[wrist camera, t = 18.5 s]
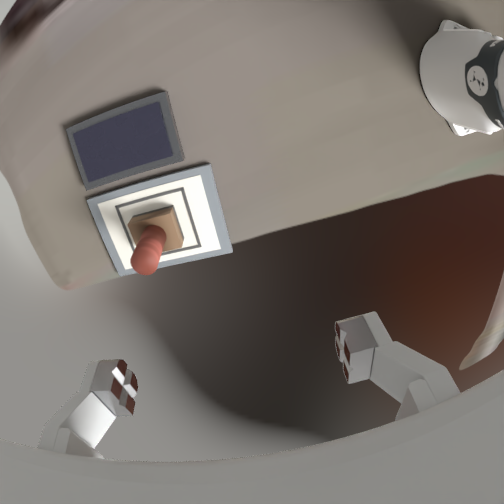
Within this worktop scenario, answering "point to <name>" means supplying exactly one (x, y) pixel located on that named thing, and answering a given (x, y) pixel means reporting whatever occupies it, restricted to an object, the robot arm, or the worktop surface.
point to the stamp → (154, 237)
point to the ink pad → (126, 141)
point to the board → (159, 196)
